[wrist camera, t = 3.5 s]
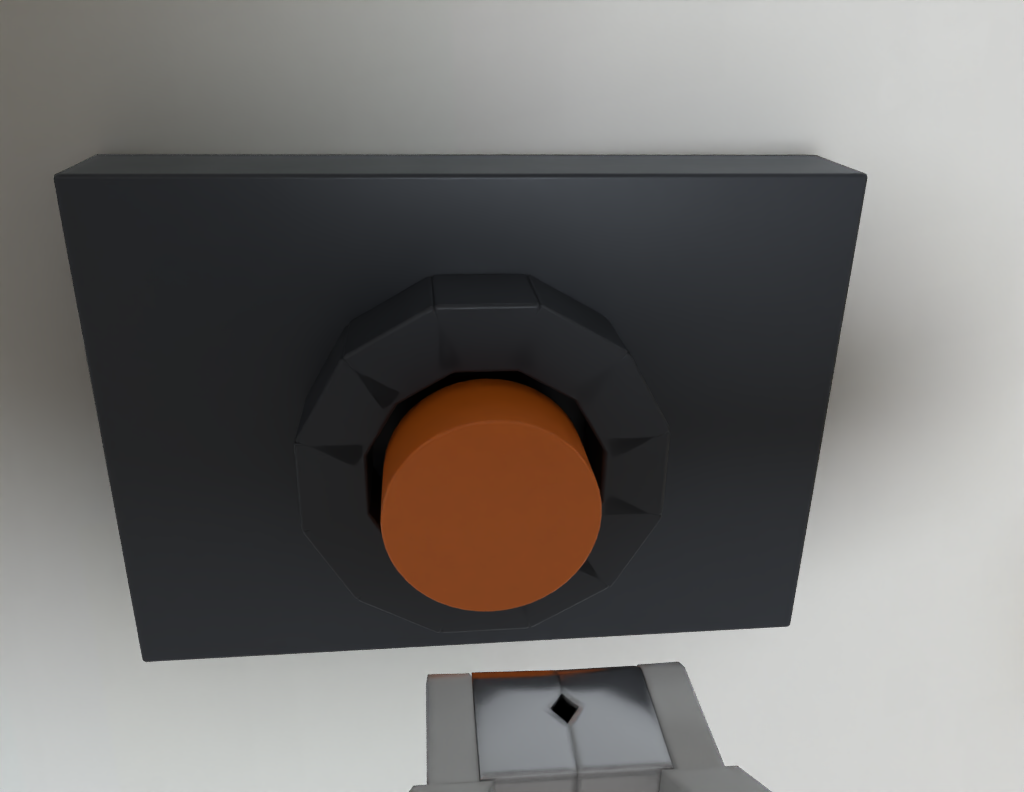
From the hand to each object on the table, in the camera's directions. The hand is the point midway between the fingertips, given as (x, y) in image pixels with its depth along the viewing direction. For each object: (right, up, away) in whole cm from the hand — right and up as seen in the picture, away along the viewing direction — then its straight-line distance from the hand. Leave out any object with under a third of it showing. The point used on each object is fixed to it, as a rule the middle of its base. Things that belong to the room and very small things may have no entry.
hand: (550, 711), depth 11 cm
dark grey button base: (-1, +4, +9) cm, 10 cm away
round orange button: (-1, +2, +5) cm, 6 cm away
